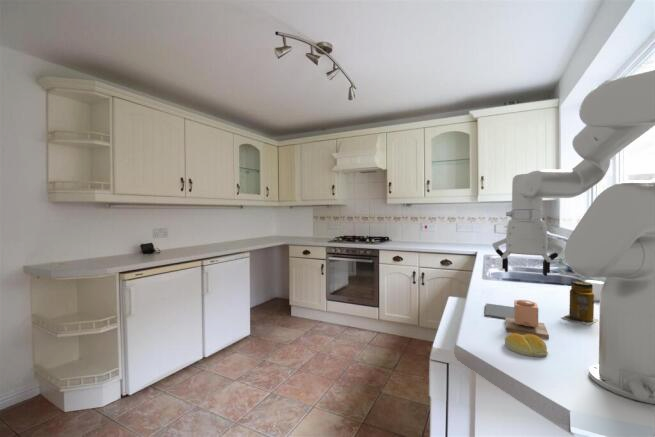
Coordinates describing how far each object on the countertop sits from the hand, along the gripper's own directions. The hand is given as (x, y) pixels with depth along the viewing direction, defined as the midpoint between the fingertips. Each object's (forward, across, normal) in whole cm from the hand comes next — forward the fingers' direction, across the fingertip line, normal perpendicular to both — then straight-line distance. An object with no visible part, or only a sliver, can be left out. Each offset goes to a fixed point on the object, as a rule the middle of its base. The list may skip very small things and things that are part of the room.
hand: (524, 273), depth 88 cm
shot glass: (+18, +28, +51) cm, 61 cm away
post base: (+17, 0, -1) cm, 17 cm away
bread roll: (+17, 0, -16) cm, 23 cm away
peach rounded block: (+15, 0, -1) cm, 15 cm away
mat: (+17, -4, +13) cm, 22 cm away
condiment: (+17, +16, +18) cm, 30 cm away
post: (+16, 0, -1) cm, 16 cm away
